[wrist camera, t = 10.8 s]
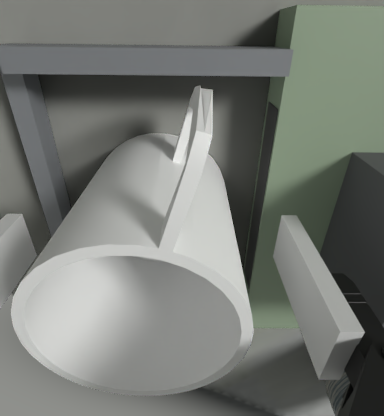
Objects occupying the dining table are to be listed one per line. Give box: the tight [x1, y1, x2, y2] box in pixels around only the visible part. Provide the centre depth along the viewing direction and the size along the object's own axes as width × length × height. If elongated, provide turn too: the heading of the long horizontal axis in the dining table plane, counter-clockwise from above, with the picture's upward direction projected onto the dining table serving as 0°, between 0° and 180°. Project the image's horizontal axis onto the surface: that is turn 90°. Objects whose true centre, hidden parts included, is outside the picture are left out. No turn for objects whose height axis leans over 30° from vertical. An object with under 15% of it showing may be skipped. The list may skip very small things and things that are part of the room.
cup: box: [11, 85, 254, 396], centre depth 13 cm, size 8×12×10 cm
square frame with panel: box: [0, 5, 384, 328], centre depth 14 cm, size 20×25×10 cm
